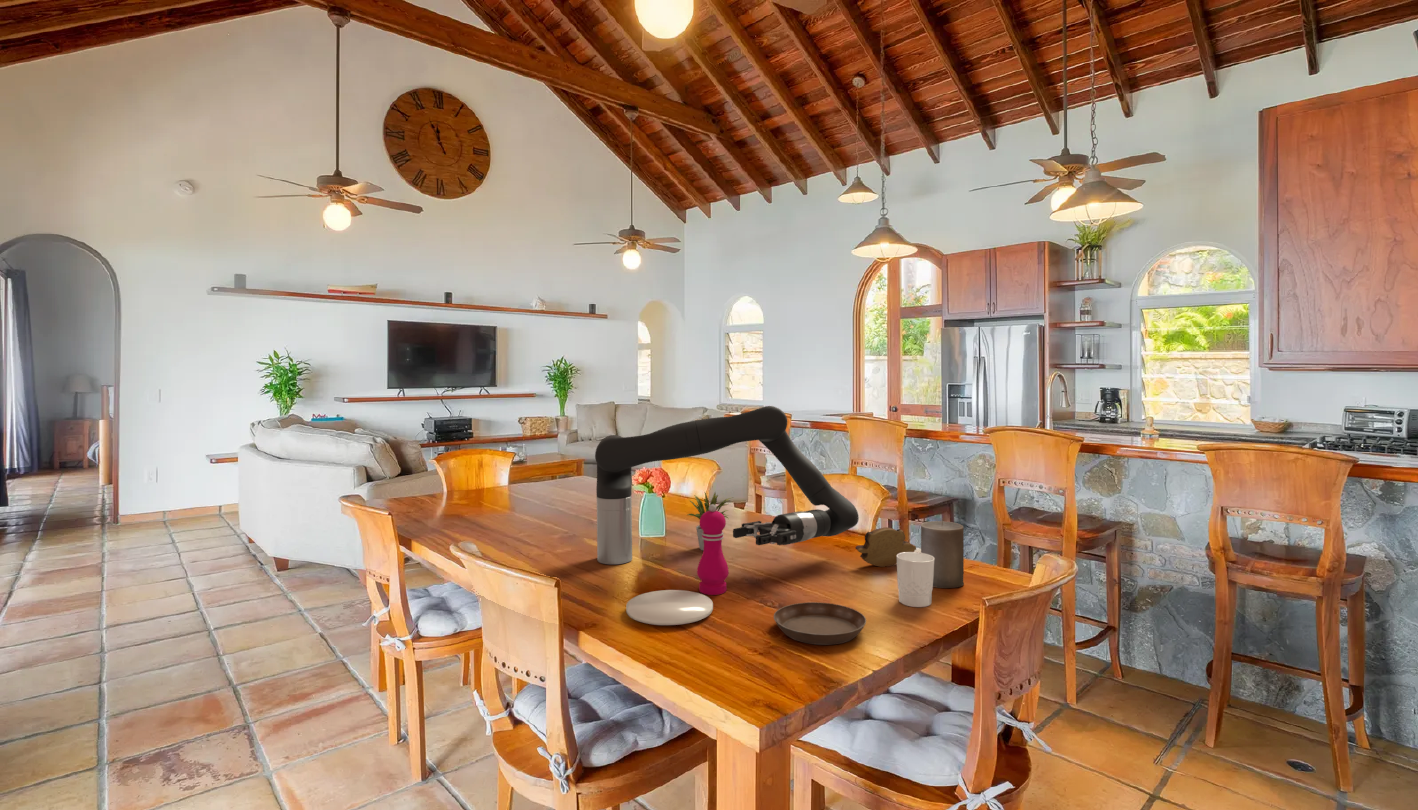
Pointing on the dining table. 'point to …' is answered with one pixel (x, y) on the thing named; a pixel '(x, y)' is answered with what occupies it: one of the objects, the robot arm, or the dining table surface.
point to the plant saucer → (819, 622)
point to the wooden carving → (884, 546)
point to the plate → (669, 607)
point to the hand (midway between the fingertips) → (745, 537)
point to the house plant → (702, 511)
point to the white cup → (915, 578)
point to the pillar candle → (944, 551)
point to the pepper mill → (712, 554)
